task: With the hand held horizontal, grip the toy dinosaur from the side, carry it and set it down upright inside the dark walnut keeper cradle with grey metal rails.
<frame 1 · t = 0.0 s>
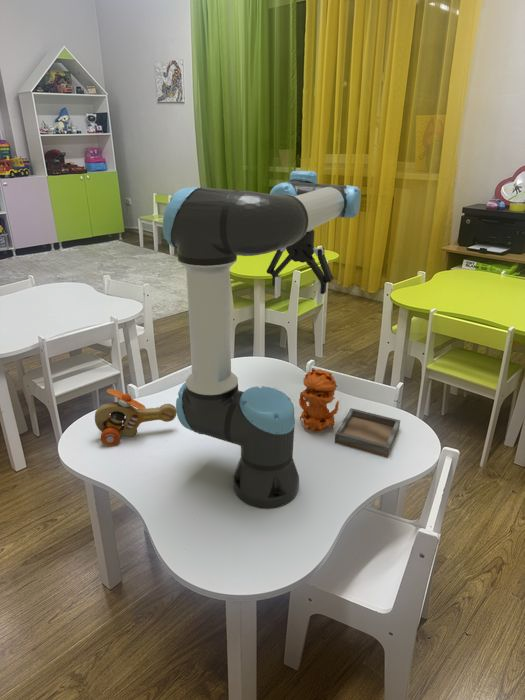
hand: (298, 300, 144), 28 cm above the table, tool pointing down, fingers open, 13 cm apart
toy helicopter: (134, 435, 128), on the table
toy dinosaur: (316, 427, 133), on the table
keeper cradle: (367, 436, 129), on the table
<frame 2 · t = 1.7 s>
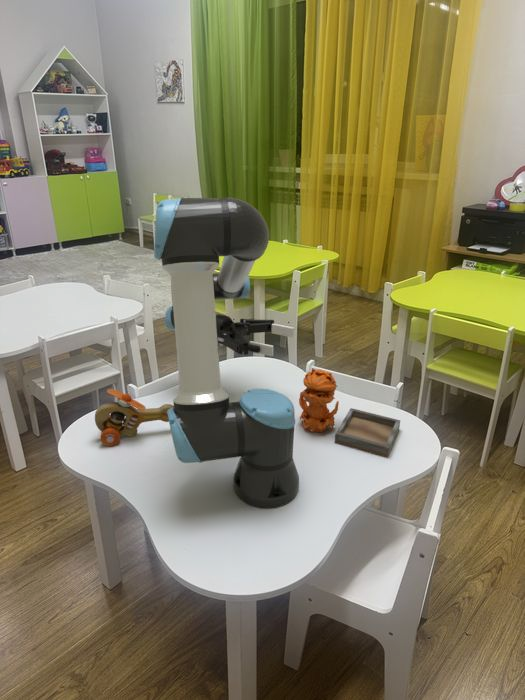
hand: (283, 341, 127), 24 cm above the table, tool horizontal, fingers open, 13 cm apart
nothing on the table moved.
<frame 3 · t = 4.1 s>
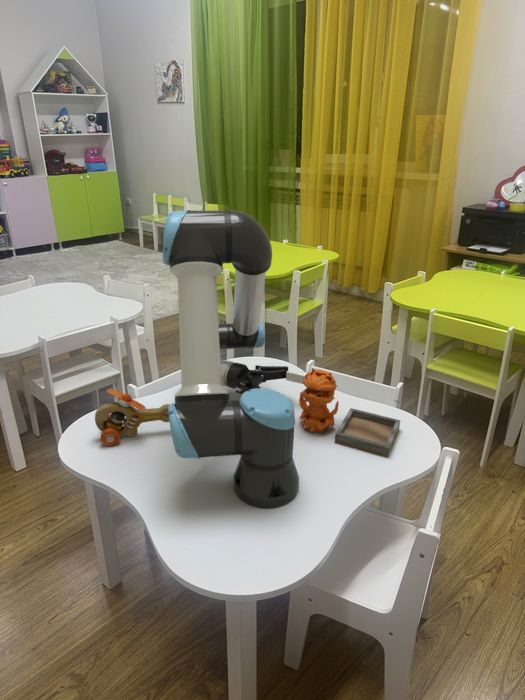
hand: (299, 390, 132), 9 cm above the table, tool horizontal, fingers open, 13 cm apart
nothing on the table moved.
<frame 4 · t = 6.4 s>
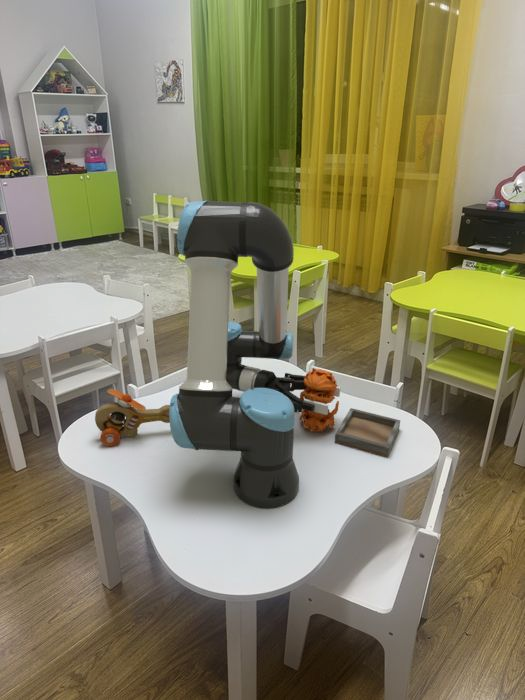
hand: (333, 400, 127), 10 cm above the table, tool horizontal, fingers closed on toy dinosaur, 9 cm apart
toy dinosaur: (315, 426, 133), on the table, touching gripper
everything else where it was.
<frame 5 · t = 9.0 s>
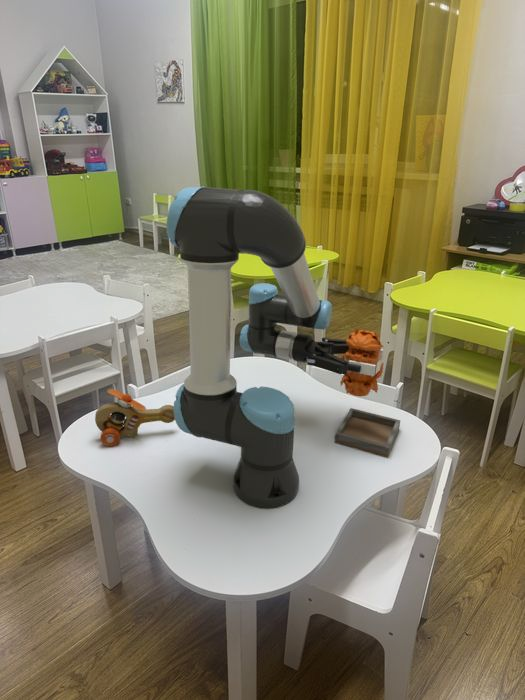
hand: (378, 362, 121), 22 cm above the table, tool horizontal, fingers closed on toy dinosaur, 9 cm apart
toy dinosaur: (357, 392, 126), point 12 cm above the table, touching gripper
everything else where it was.
when the fingers open (12 cm above the table, at t = 11.7 s): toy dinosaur drops 1 cm, resting on keeper cradle.
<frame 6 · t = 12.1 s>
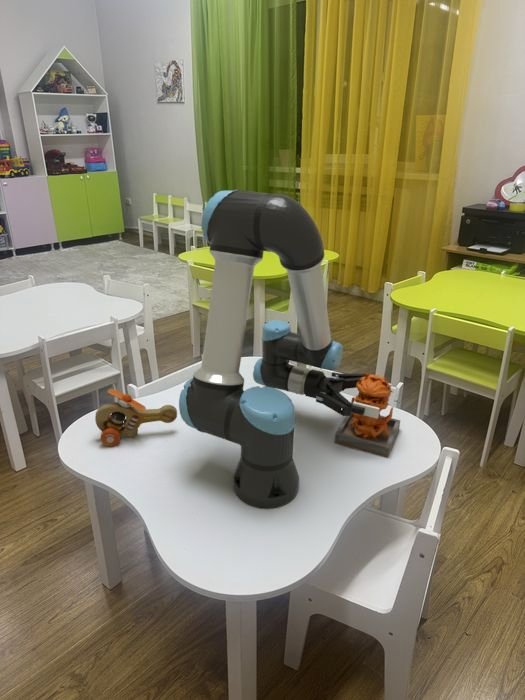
hand: (385, 400, 123), 12 cm above the table, tool horizontal, fingers open, 13 cm apart
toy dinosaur: (367, 433, 128), point 1 cm above the table, touching keeper cradle
everything else where it was.
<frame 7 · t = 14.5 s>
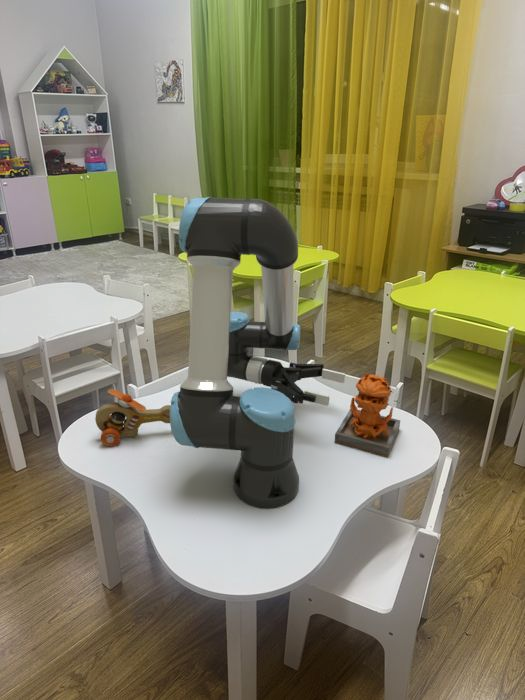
hand: (337, 389, 128), 12 cm above the table, tool horizontal, fingers open, 13 cm apart
nothing on the table moved.
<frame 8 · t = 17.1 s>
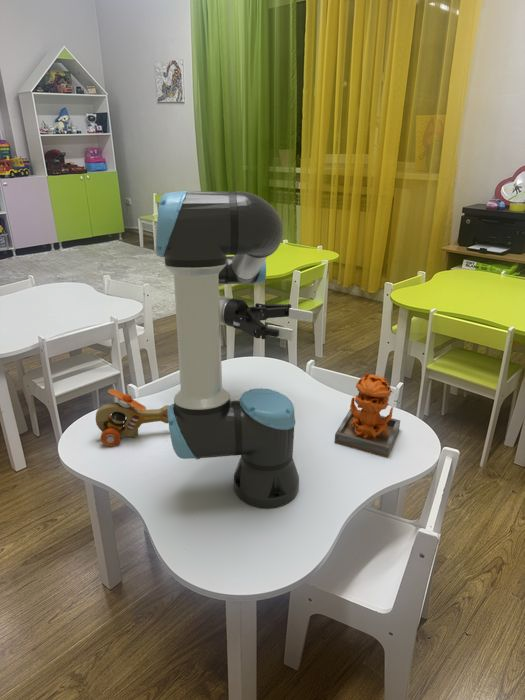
hand: (302, 325, 120), 30 cm above the table, tool horizontal, fingers open, 13 cm apart
nothing on the table moved.
at the end: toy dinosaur inside the target area on the keeper cradle (0.2 cm from its centre), point 0.8 cm above the keeper cradle's base; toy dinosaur tilted 0°; the gripper is holding nothing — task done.
